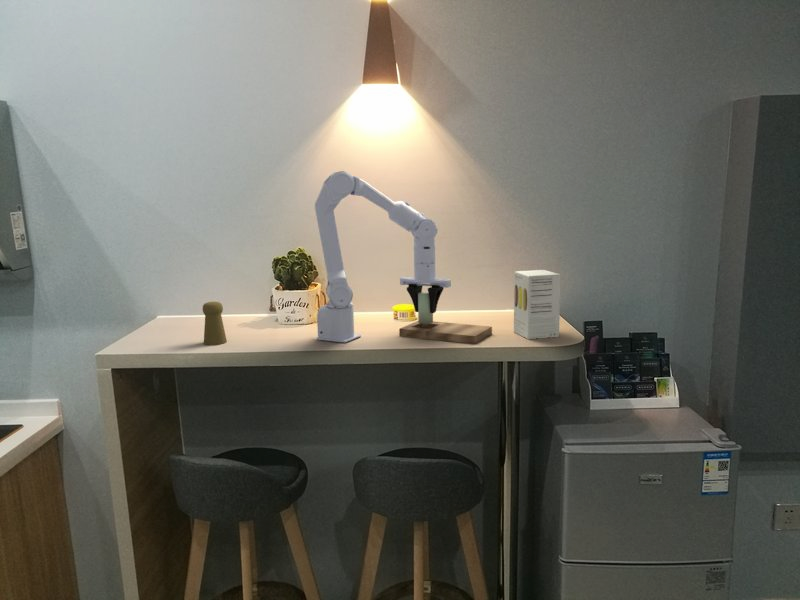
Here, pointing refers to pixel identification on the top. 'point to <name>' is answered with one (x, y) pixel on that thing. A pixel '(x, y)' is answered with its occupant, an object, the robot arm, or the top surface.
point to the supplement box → (536, 303)
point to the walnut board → (446, 331)
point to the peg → (424, 308)
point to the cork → (213, 324)
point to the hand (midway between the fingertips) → (425, 312)
